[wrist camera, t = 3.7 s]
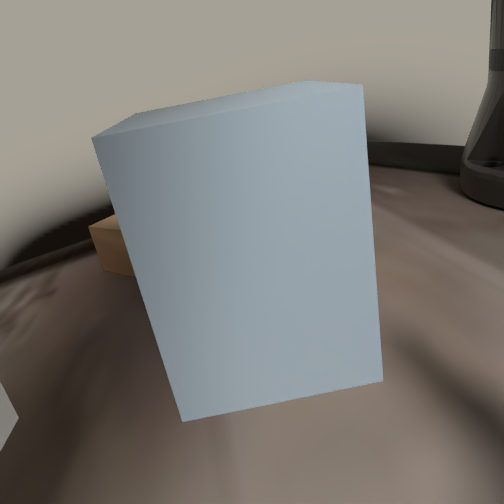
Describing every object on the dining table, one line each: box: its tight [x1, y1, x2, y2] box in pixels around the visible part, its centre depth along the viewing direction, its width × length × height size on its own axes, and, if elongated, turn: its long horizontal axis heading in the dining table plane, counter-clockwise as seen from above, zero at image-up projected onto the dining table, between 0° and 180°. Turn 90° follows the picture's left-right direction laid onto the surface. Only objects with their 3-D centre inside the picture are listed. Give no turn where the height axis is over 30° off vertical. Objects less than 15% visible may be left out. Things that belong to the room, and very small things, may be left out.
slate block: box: [92, 80, 383, 422], centre depth 18 cm, size 8×8×11 cm
